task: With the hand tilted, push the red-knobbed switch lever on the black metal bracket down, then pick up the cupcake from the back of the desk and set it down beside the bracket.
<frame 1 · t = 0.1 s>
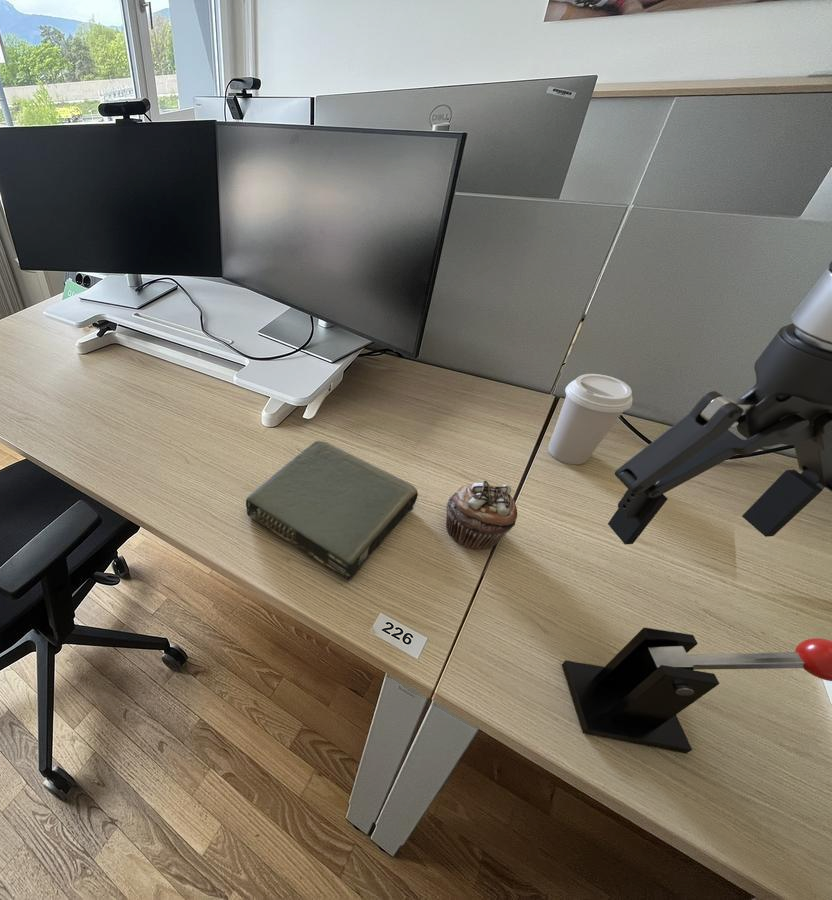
hand: (687, 530, 47), 21 cm above the table, tool pointing down, fingers open, 13 cm apart
network switch: (329, 512, 80), on the table
cupcake: (471, 531, 75), on the table
switch bracket: (619, 705, 54), on the table
switch lever: (746, 661, 45), point 13 cm above the table, hinge at 25.0°
coffee cup: (567, 454, 87), on the table
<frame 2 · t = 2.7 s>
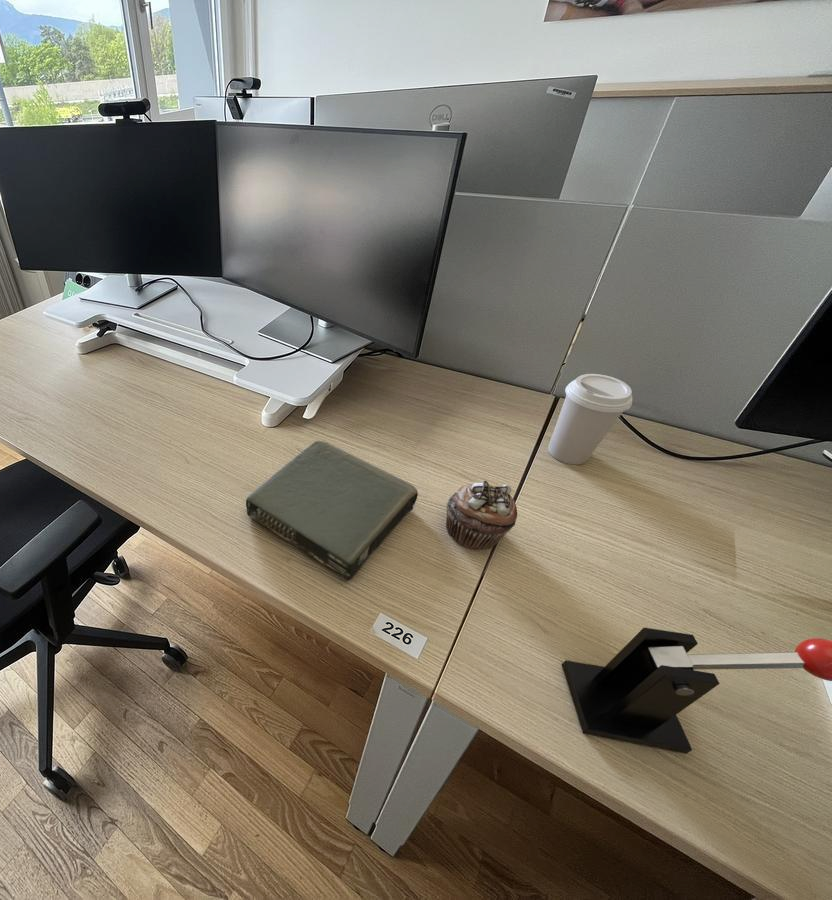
nothing on the table moved.
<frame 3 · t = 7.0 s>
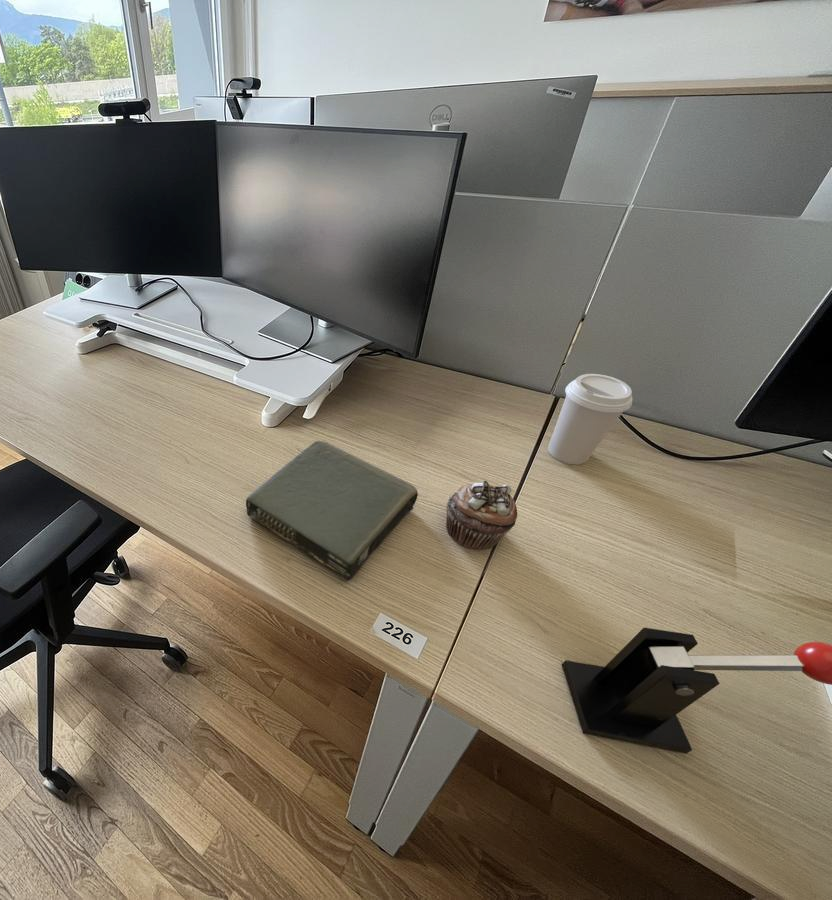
switch lever: (746, 662, 45), point 13 cm above the table, hinge at 21.7°, touching gripper
everything else where it was.
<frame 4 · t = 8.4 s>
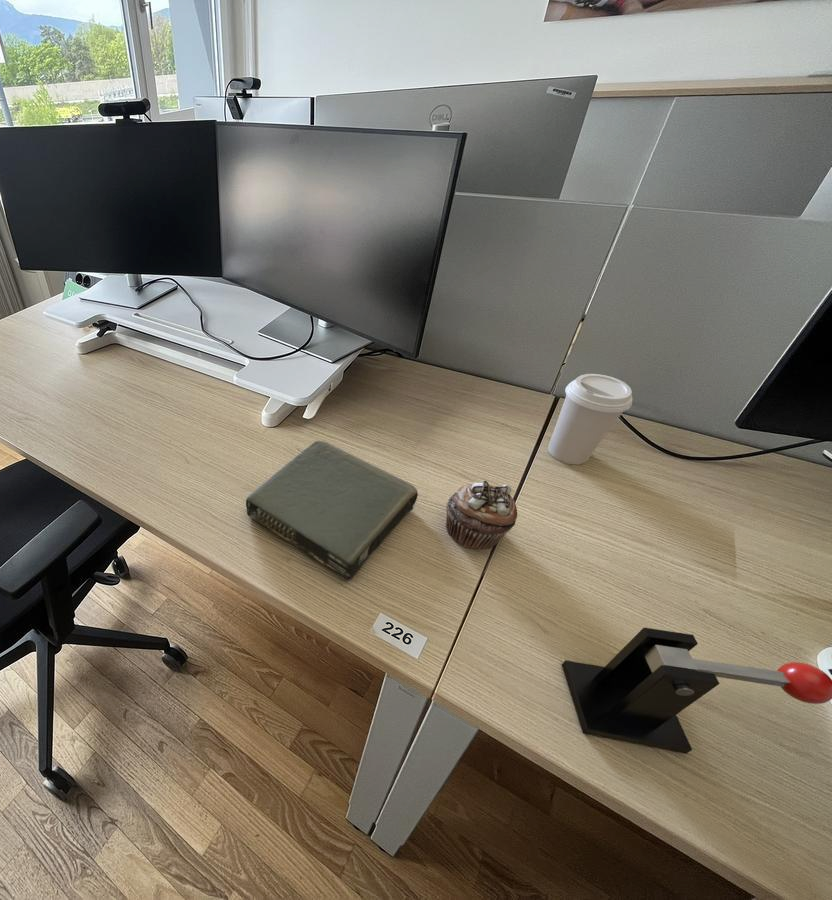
switch lever: (738, 672, 46), point 11 cm above the table, hinge at 1.5°, touching gripper
everything else where it was.
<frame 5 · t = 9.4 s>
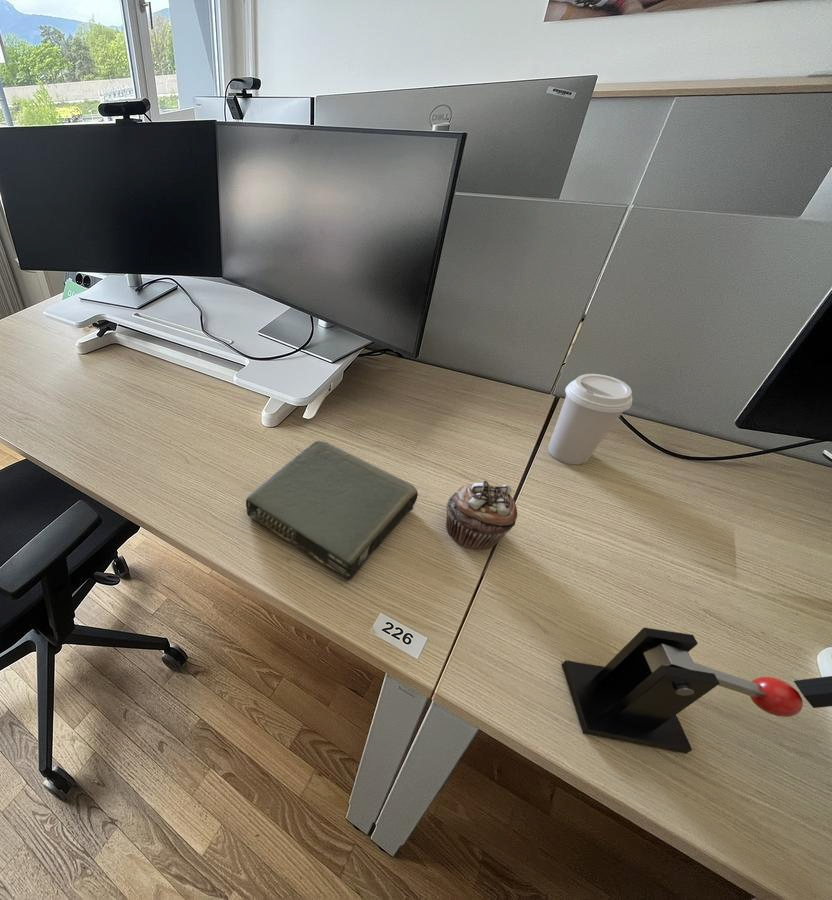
hand: (803, 694, 46), 9 cm above the table, tool tilted 45°, fingers closed
switch lever: (724, 680, 47), point 9 cm above the table, hinge at -16.7°, touching gripper
everything else where it was.
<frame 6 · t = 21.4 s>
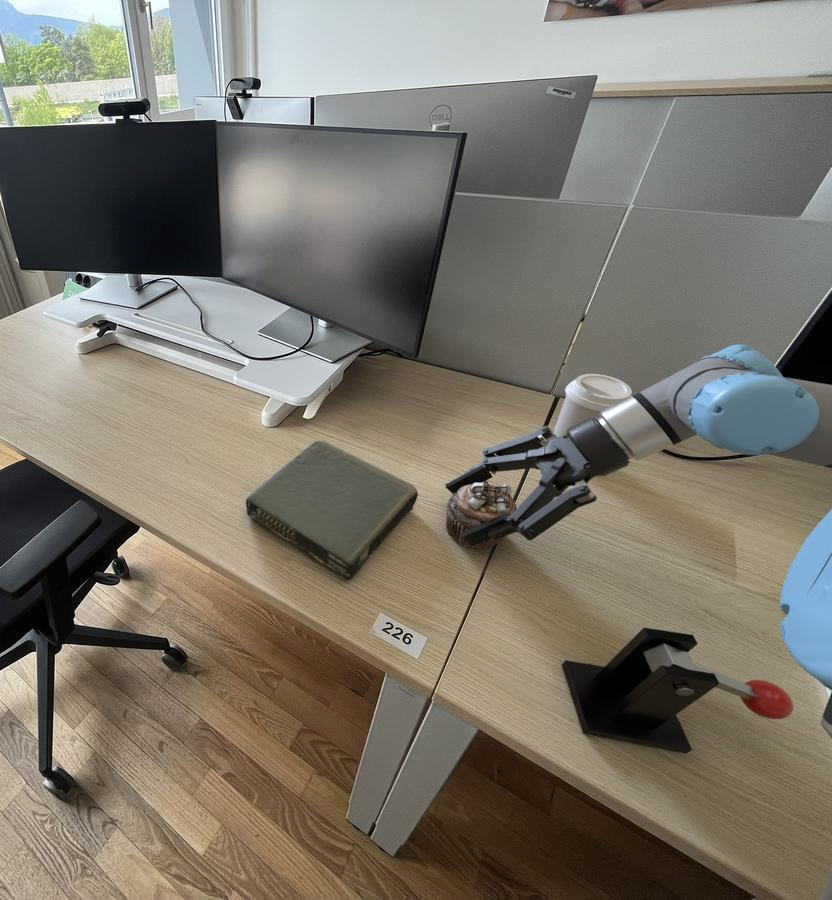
hand: (457, 513, 73), 4 cm above the table, tool tilted 45°, fingers closed on cupcake, 10 cm apart
cupcake: (471, 531, 75), on the table, touching gripper
switch lever: (719, 681, 47), point 9 cm above the table, hinge at -21.2°
everything else where it was.
when the fingers open (4 cm above the table, at t = 31.1 s): cupcake stays where it is, on the table.
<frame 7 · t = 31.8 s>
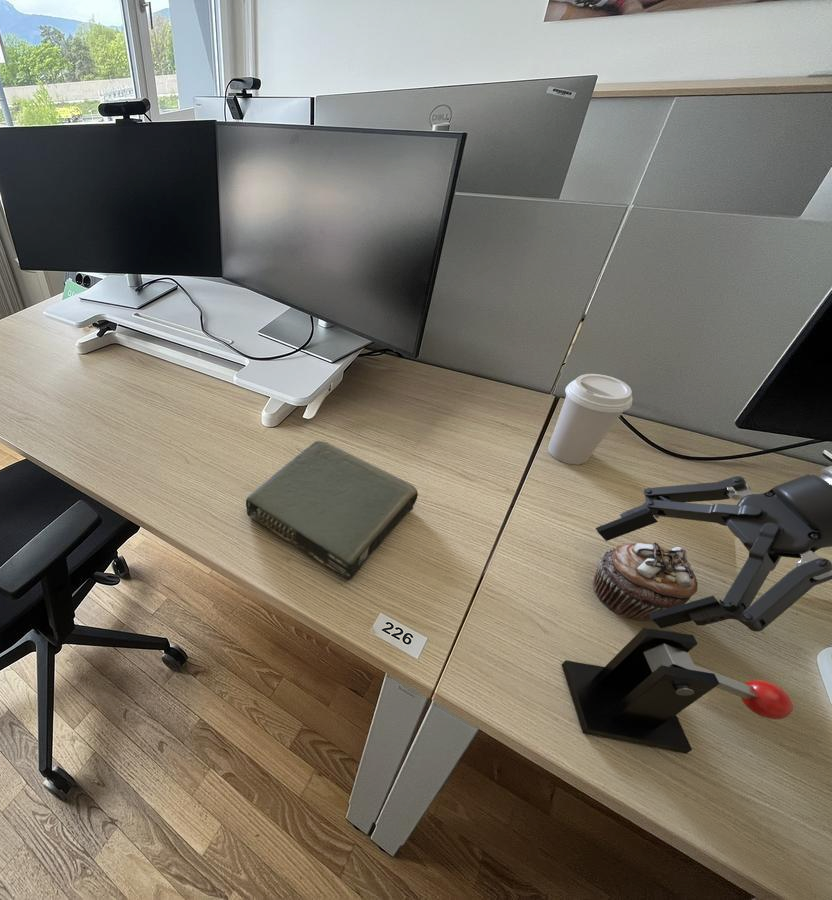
hand: (625, 574, 62), 5 cm above the table, tool tilted 45°, fingers open, 13 cm apart
cupcake: (625, 596, 65), on the table
everything else where it was.
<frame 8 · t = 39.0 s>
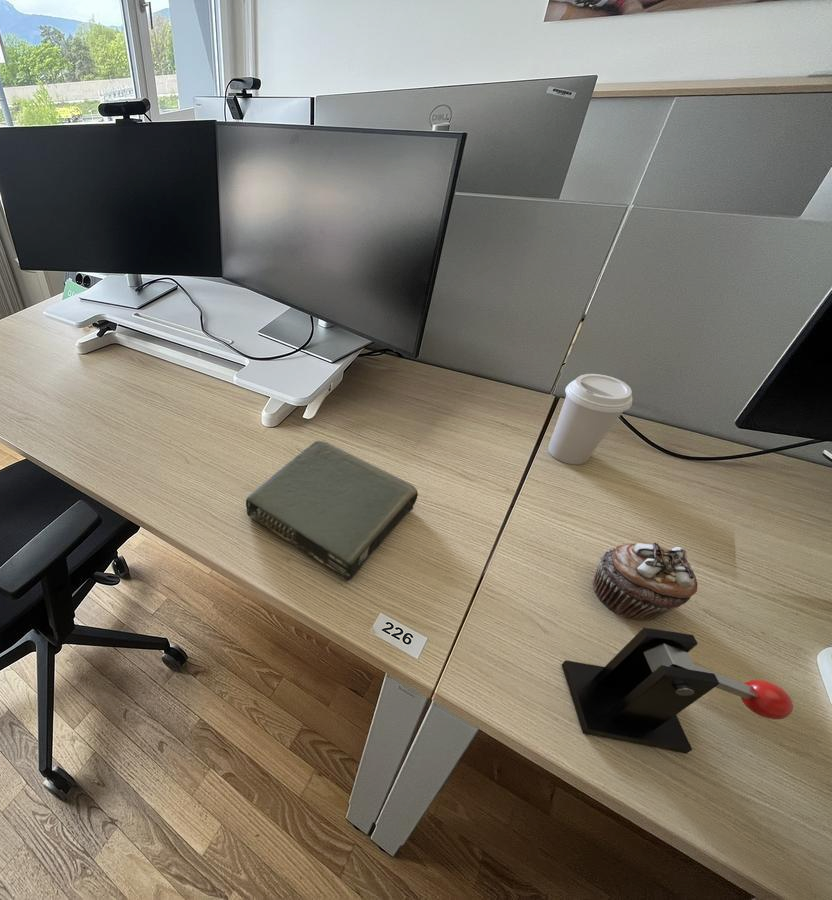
nothing on the table moved.
at the end: switch lever at -21° (first picture: +25°); cupcake inside the target area (0.0 cm from its centre), on the table; cupcake tilted 0° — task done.
